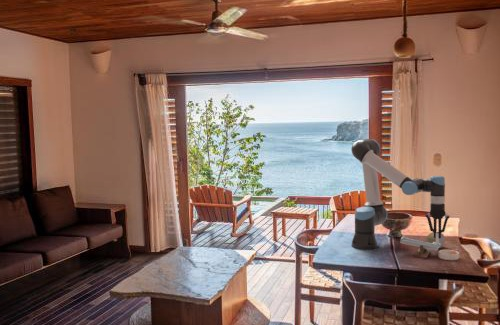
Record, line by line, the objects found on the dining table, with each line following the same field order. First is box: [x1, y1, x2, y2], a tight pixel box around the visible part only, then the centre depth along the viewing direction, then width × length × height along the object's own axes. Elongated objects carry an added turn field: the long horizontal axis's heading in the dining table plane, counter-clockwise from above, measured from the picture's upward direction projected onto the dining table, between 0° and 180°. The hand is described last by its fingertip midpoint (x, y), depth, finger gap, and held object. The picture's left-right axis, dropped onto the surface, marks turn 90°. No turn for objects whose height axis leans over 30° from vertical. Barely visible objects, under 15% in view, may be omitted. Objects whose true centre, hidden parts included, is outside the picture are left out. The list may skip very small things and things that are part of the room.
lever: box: [399, 235, 441, 252], centre depth 264 cm, size 20×15×3 cm
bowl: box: [437, 249, 460, 261], centre depth 255 cm, size 10×10×3 cm
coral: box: [426, 231, 446, 249], centre depth 276 cm, size 10×10×10 cm
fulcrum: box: [415, 240, 431, 259], centre depth 261 cm, size 6×12×6 cm, turn 150°
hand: (437, 243), depth 264 cm, fingers closed
